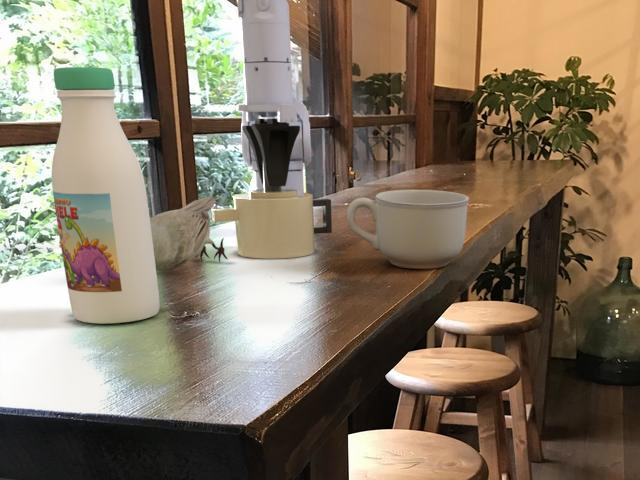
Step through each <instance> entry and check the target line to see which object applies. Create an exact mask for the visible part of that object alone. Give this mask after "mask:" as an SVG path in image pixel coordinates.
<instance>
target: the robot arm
mask: <svg viewBox="0 0 640 480" xmlns="http://www.w3.org/2000/svg"><path fill="white" fill-rule="evenodd" d="M288 1H289V2H290V3H291V2H292V1H291V0H288ZM288 1H287V0H236V4H237V5H236V6H237V15H238V18H239V20H240V36H241V50H242V52H241V53H242V68H243V83H244V84H243V85H244V98H245V100H244V101H245V104H236V105H235V108H236V111H237V112H241V125H240V138H241V139H240V140H241V152H242V153H241V154H242V160H243V163H244V164H245V165H246V167H249V168H250V167H251V171H253V176H252V178H251V180H250V186H249V191H250V190H255V189H264V177H263V163H264V169H265V175H266V179H267V183H268V186H270V187H275V186H282V188H286V189H295V190H297V192H302V193H305V192H304V191H305V190H304V189H305V188H304V187H305V186H304V166H305V167H309V165H310V163H311V162H312V142H311V141H312V140H311V122H310V113H309V112H310V111H309V110H308V109H307V108H308V107H307V106H306V105H305V104H304V103H303V102H302V101H300V100H299V99H297V98H296V97H295V96H294V95H293V93H294V92H293V91H294V90H293V70H292V68H293V67H292V49H291V46H292V45H291V26H290V25H291V23H290V22H291V21H290V4H289V2H288Z"/></svg>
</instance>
